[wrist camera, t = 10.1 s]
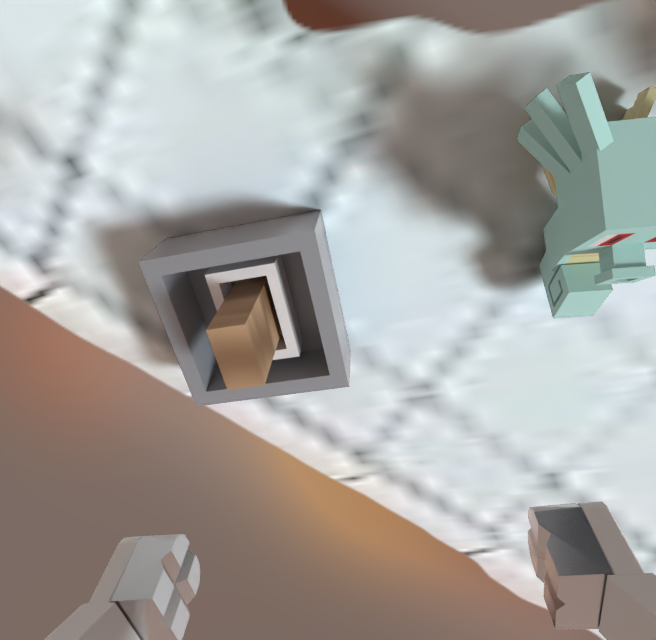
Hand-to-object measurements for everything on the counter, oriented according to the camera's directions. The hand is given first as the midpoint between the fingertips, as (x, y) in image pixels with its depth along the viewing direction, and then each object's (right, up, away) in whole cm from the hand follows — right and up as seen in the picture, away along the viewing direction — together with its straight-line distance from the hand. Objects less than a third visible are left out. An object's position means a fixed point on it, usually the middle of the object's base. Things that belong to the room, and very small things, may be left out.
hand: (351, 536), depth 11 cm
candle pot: (-6, +7, +26) cm, 28 cm away
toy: (+16, +14, +21) cm, 30 cm away
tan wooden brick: (-6, +6, +25) cm, 27 cm away
